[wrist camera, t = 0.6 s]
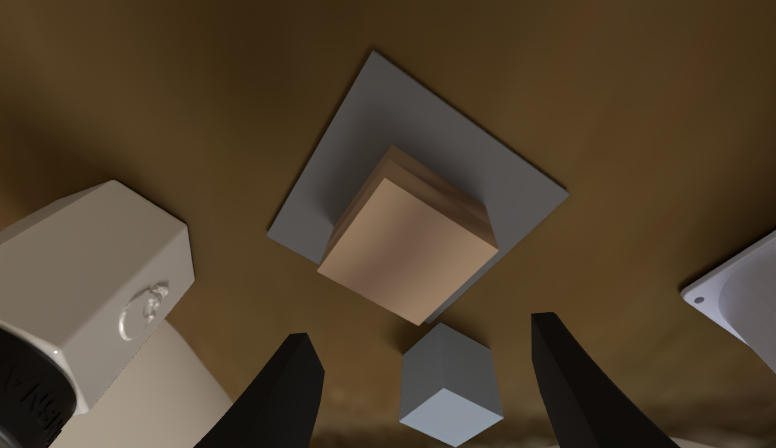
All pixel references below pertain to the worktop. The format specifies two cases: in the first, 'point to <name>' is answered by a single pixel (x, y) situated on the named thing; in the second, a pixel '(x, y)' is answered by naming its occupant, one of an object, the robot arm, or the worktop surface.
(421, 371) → the blue cube
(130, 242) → the jar
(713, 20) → the worktop surface
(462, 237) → the slab upper
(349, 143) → the mat
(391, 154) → the tan cardboard box
